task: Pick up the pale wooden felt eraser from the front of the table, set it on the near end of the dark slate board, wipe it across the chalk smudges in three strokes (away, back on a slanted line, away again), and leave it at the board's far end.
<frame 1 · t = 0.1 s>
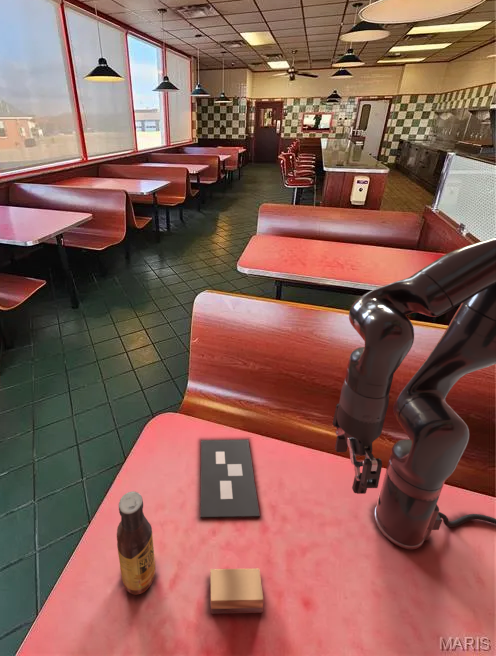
hand: (348, 469, 64), 17 cm above the table, tool pointing down, fingers open, 8 cm apart
sauce bottle: (139, 575, 63), on the table
slate board: (227, 474, 81), on the table
eraser: (235, 596, 60), on the table
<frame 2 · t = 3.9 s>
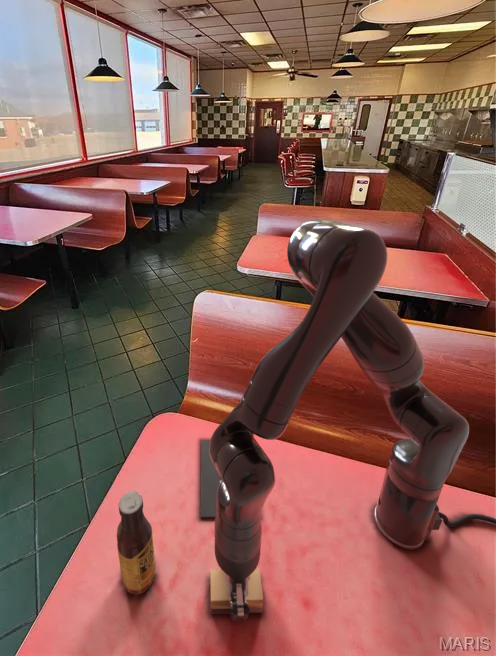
hand: (235, 594, 59), 1 cm above the table, tool pointing down, fingers closed on eraser, 4 cm apart
eraser: (235, 596, 60), on the table, touching gripper
everything else where it was.
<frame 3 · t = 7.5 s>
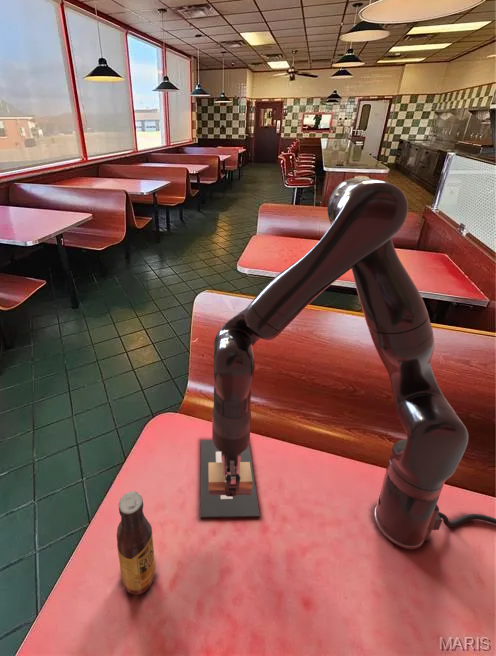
hand: (229, 482, 71), 9 cm above the table, tool pointing down, fingers closed on eraser, 4 cm apart
eraser: (229, 484, 71), point 8 cm above the table, touching gripper
everything else where it was.
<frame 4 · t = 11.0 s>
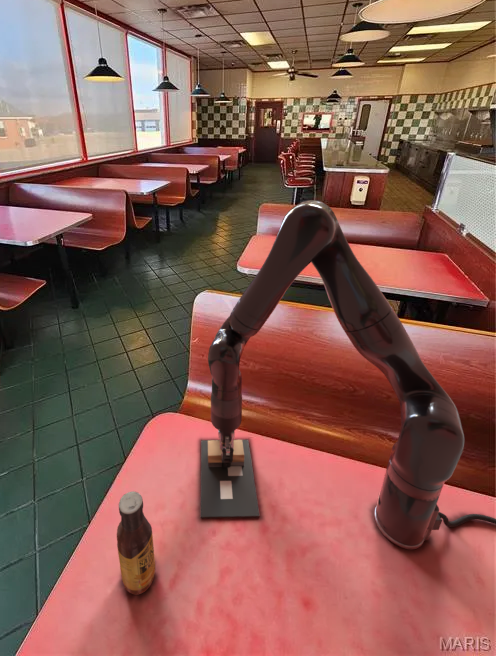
hand: (225, 456, 85), 1 cm above the table, tool pointing down, fingers closed on eraser, 4 cm apart
eraser: (225, 458, 85), resting on slate board, touching gripper
everything else where it was.
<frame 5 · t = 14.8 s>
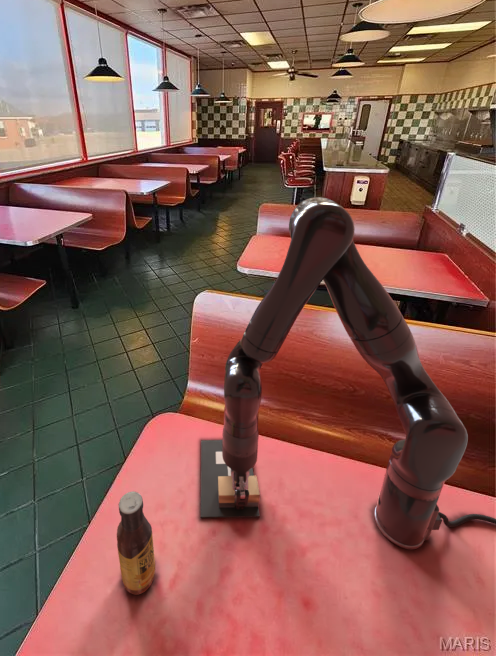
hand: (238, 495, 76), 1 cm above the table, tool pointing down, fingers closed on eraser, 4 cm apart
eraser: (237, 497, 76), resting on slate board, touching gripper
everything else where it was.
when the fingers open (1 cm above the table, at t = 17.9 s): eraser stays where it is, resting on slate board.
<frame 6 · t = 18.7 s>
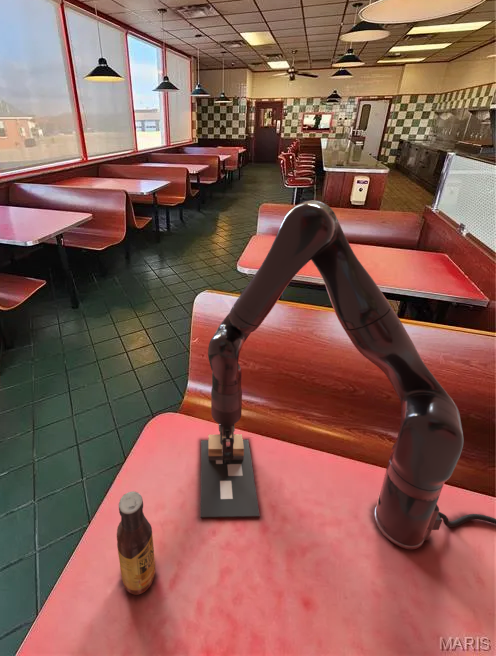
hand: (225, 448, 86), 2 cm above the table, tool pointing down, fingers open, 8 cm apart
eraser: (225, 452, 87), resting on slate board
everything else where it was.
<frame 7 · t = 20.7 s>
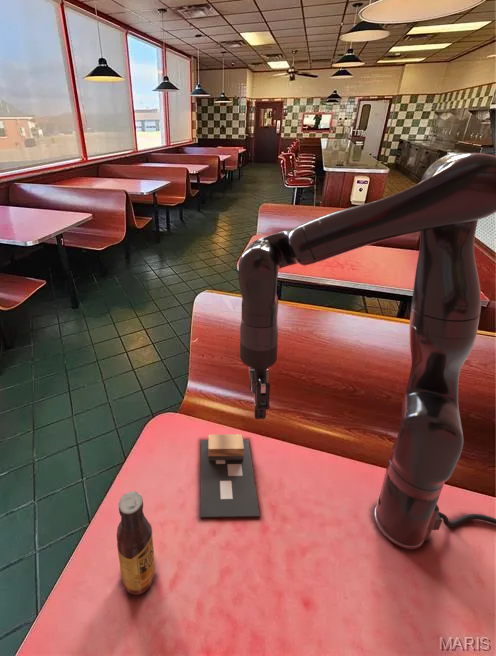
hand: (256, 402, 72), 24 cm above the table, tool pointing down, fingers open, 8 cm apart
nothing on the table moved.
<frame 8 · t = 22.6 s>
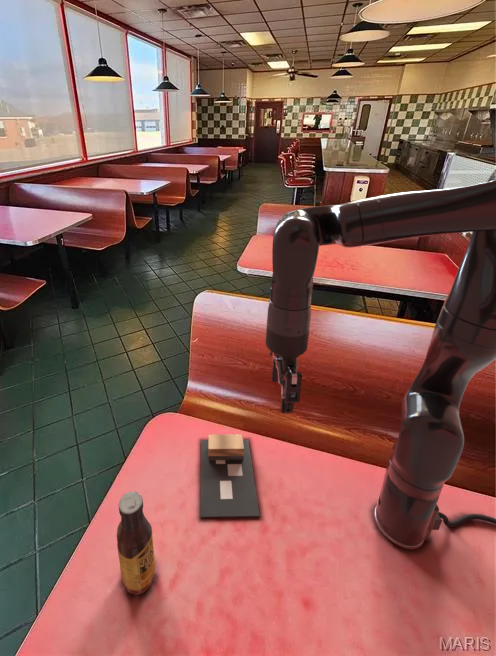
hand: (281, 395, 65), 30 cm above the table, tool pointing down, fingers open, 8 cm apart
nothing on the table moved.
at the end: eraser inside the target area on the slate board (0.2 cm from its centre), point 0.4 cm above the slate board's base; eraser moved 29.5 cm from its start; eraser tilted 0° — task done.
